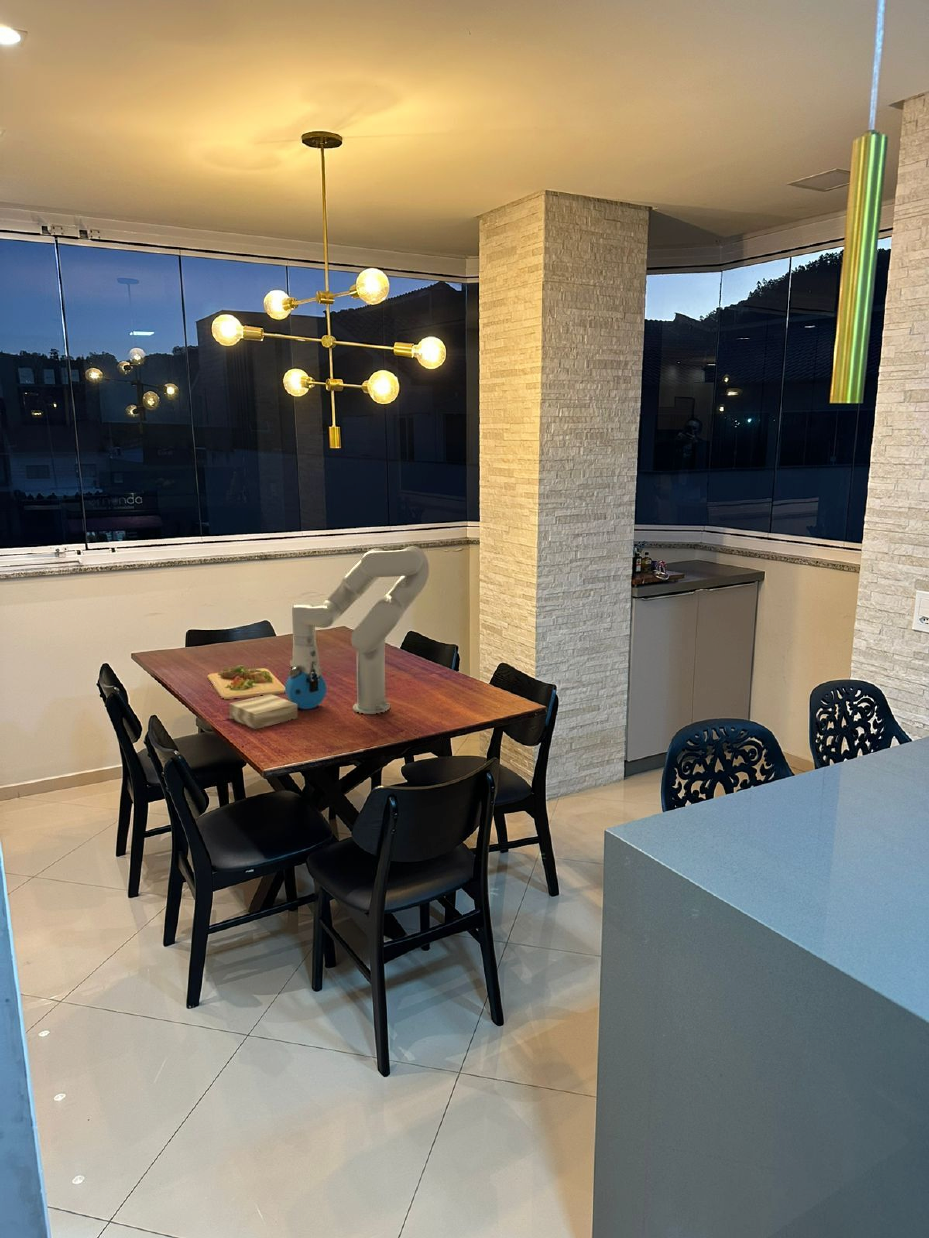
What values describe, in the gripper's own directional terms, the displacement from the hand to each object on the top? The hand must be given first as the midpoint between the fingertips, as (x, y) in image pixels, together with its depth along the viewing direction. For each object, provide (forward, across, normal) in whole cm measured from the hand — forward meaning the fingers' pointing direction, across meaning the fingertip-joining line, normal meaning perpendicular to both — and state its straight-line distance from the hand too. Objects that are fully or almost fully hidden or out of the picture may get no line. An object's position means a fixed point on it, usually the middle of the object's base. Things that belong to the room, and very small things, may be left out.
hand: (305, 688), depth 294 cm
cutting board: (+8, +40, 0) cm, 41 cm away
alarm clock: (+7, 0, 0) cm, 7 cm away
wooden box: (+7, 0, +17) cm, 18 cm away
